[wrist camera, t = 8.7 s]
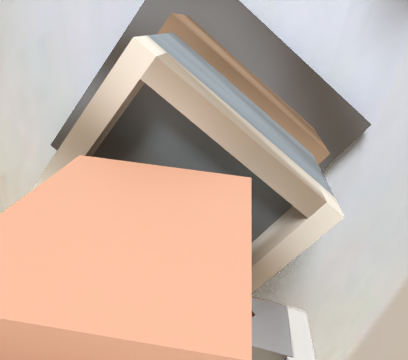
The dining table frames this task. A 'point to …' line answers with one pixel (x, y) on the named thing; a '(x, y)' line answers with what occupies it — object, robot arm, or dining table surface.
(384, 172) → the dining table surface
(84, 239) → the light orange block
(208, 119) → the stacked open-top box
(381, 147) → the dining table surface
